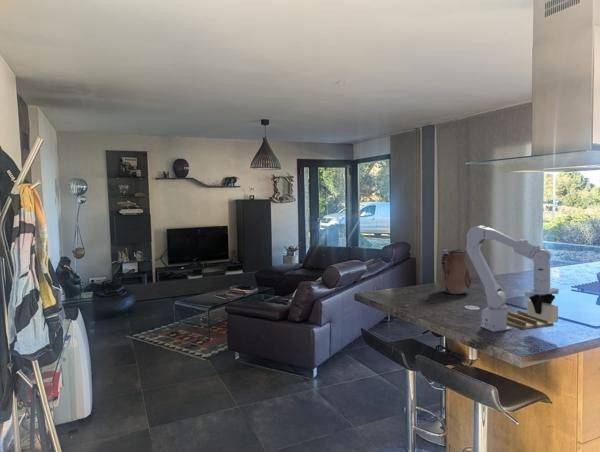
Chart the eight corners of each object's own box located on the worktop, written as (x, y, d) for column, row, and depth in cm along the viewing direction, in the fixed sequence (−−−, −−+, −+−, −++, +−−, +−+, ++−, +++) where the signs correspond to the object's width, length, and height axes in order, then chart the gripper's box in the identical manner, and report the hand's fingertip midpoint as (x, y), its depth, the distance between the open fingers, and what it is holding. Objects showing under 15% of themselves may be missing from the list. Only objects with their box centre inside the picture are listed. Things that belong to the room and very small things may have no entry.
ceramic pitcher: (475, 291, 247) (475, 249, 245) (462, 298, 231) (461, 253, 230) (446, 288, 258) (445, 247, 257) (431, 294, 243) (431, 251, 241)
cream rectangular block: (551, 322, 161) (551, 307, 161) (527, 314, 173) (527, 300, 172) (558, 321, 162) (558, 306, 162) (533, 314, 174) (533, 299, 173)
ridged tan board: (522, 329, 175) (522, 323, 175) (492, 318, 193) (492, 312, 192) (553, 325, 179) (553, 319, 179) (521, 314, 197) (521, 309, 196)
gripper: (534, 282, 161) (534, 317, 162) (565, 279, 165) (565, 313, 165) (520, 279, 168) (520, 313, 169) (550, 276, 171) (550, 309, 172)
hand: (541, 313), depth 167 cm, fingers closed on cream rectangular block, 3 cm apart
